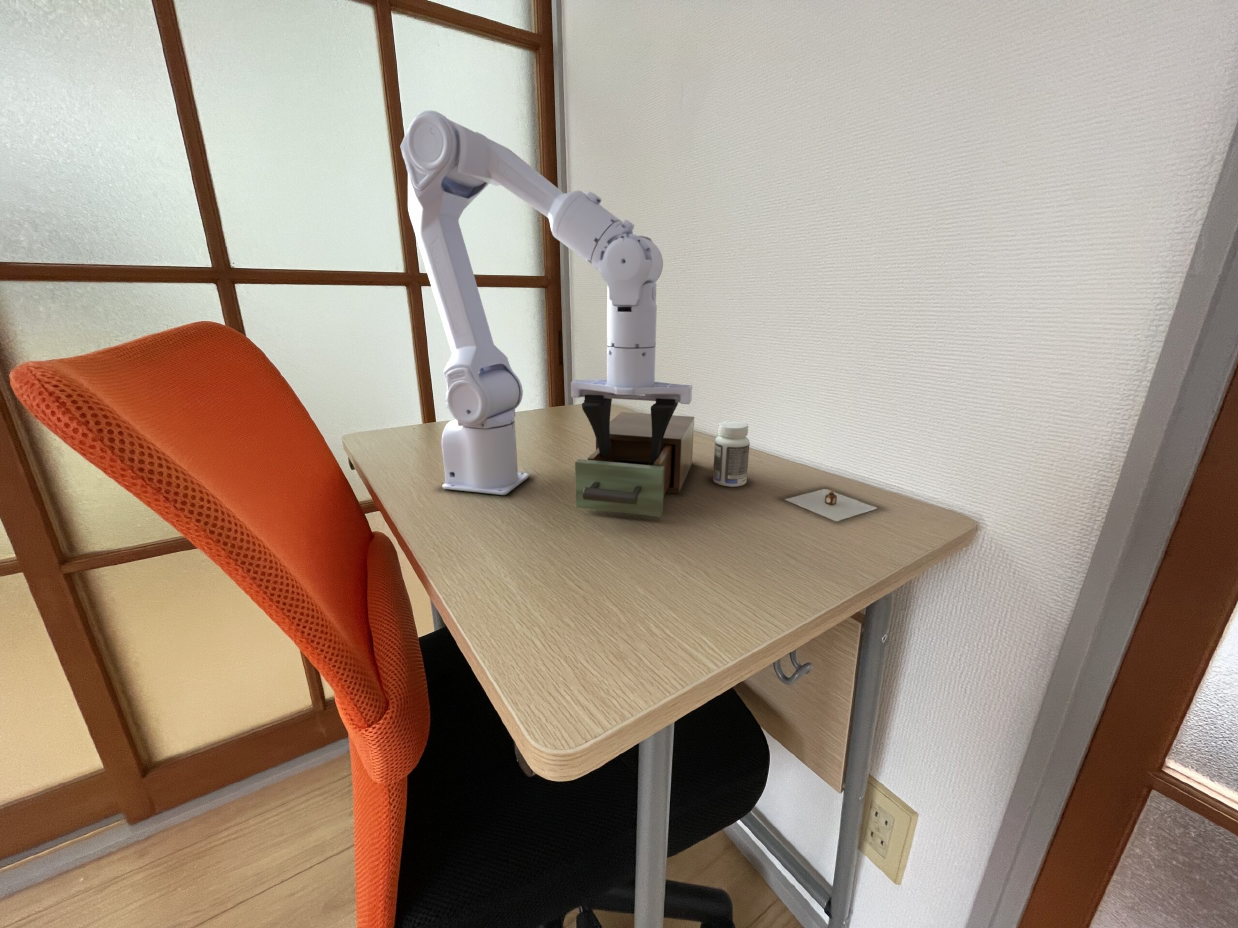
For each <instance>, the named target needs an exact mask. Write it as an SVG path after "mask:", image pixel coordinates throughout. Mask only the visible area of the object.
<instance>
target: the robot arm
mask: <svg viewBox="0 0 1238 928" xmlns="http://www.w3.org/2000/svg"><path fill="white" fill-rule="evenodd" d="M399 147H400V151H401V155H402V158H403V160H404V164H405V168H406V171H407V211H408V215H409V219H410V222H411V225H412V228H413V232H414V234H415V235H414V236H415V239H416V241H417V244H418V248H419V251H420V254H421V258H422V260H423V264H424V268H425V271H426V274H427V277H428V280H429V283H430V287H431V291H432V293H433V297H434V300H435V303H436V306H437V309H438V312H439V316H440V320H441V323H442V326H443V329H444V332H445V335H446V339H447V342H448V345H449V348H450V351H451V356H450V358H449V360H448V362H447V363H446V364H445V365H446V366H445V367H444V370H443V372H442V373H443V376H444V380H445V384H446V390H445V403H446V407H447V410H448V412H449V413H450V416H452V417H453V418H454V419H452V420H450V421H449V422H448V423H447V424H446V425H445V427H444V428H443V430H442V434H441V451H442V452H441V453H442V464H443V470H444V471H443V472H444V473H443V474H444V482H445V483H443V484H442V489H444V490H452V491H453V490H454V491H461V492H463V491H464V492H472V493H480V494H489V495H490V494H491V495H498V496H499V495H500V496H507V495H508V494H509V493H510V492H511V491H513V490H514V489H515V488H516V487H518V486H519V485H520V484H522V483H523V482H524V481H526V480H527V479H528V478H529V477H530V473H528V472H519V471H518V470H519V468H518V453H517V432H516V431H517V430H516V409H517V408H518V407H519V406H520V405H521V403H522V399H523V395H524V390H523V385H522V382H521V380H520V378H519V377H518V376H517V374H516V373H515V372H514V371H513V369H512V367H511V364H510V361H509V358H508V356H507V355H506V353H505V354H504V352H502V350H501V349H500V348H498V347H497V346H496V345H495V343H494V341H493V337H492V332H491V330H490V326H489V323H488V320H487V319H488V318H487V315H486V312H485V309H484V305H483V301H482V298H481V295H480V292H479V288H478V284H477V281H476V278H475V275H474V271H473V266H472V263H471V260H470V257H469V253H468V250H467V247H466V246H467V245H466V243H465V239H464V235H463V232H462V229H461V225H460V221H459V220H460V217H461V215H462V214H463V212H464V211H465V209H466V208H467V207H468V206H469V205H470V204H471V203H472V202H473V201H474V200H475V199H476V198H477V197H478V196H479V195H480V194H481V193H483V191H484V190H485V189H486V188H487V187H488V186H489V184H490V185H492V186H496V187H498V186H502V187H503V188H504V189H506V190H507V191H508V192H510V193H511V194H513V195H514V196H516V197H517V198H518V199H520V200H522V201H523V202H524V203H526V204H527V205H528V206H530V207H532V208H533V209H534V210H536V211H538V212H539V213H540V214H542V215H543V216H545V217H546V218H547V219H548V221H549V226H550V231H551V234H552V237H554V238H555V239H556V240H557V241H559V242H560V243H561V244H563V245H564V246H566V247H567V248H568V249H569V250H570V251H572V252H573V253H574V254H576V255H577V256H579V257H580V258H581V259H583V260H584V261H585V262H586V263H588V264H589V265H590V266H591V267H593V268H594V269H596V270H599V273H600V276H601V278H602V280H603V281H604V282H605V284H606V287H607V290H606V291H607V296H606V297H607V299H606V300H607V301H606V302H607V303H606V379H574V380H573V381H571V382H570V397H571V398H573V399H580V398H584V399H583V402H582V403H581V408H582V411H583V413H584V414H585V416H586V418H587V420H588V422H589V424H590V426H591V428H592V431H593V434H594V436H595V441H596V440H597V444H598V448H599V452H600V457H606V456H607V455H608V454H609V453H610V421H611V410H612V402H613V400H626V401H627V400H628V401H631V400H632V401H643V402H645V401H646V402H655V403H653V404H651V406H650V414H651V421H652V442H651V453H650V457H651V461H656V460H657V458H658V457H659V454H660V448H661V444H662V440H663V437H664V434H665V431H666V429H667V426H668V424H669V421H670V419H671V417H672V415H674V413H675V411H676V409H677V407H678V405H679V404H680V405H690V404H691V403H692V399H693V385H692V384H679V383H671V382H670V383H668V382H660V381H656V348H657V347H656V345H657V311H658V306H657V281H658V280H659V279H660V277H661V275H662V272H663V267H664V260H663V256H662V253H661V250H660V248H659V247H658V246H657V244H655V242H653V240H652V238H651V237H648V236H645V235H637V234H634V231H633V230H634V229H635V225H634V223H633V222H631V221H630V220H628V219H624V220H623V221H622V220H621V219H619V218H618V217H617V216H616V215H614V214H613V213H612V212H611V211H609V210H608V209H606V208H605V207H604V206H602V205H601V202H602V198H601V197H600V196H598V195H597V194H595V193H594V192H592V191H587V192H586V193H585V192H584V191H582V190H573V191H569V192H564V191H562V190H560V189H559V188H558V187H557V186H556V185H555V184H553V183H552V182H551V181H549V180H548V179H547V178H546V177H545V176H543V175H542V174H541V173H540V172H539V171H537V170H536V169H535V168H533V167H532V166H531V165H530V164H529V163H527V162H526V161H525V160H524V159H522V157H520V156H518V154H516V153H515V152H514V151H512V149H510V148H508V147H506V146H504V145H503V144H501V143H498V142H496V141H494V140H492V139H490V138H488V137H487V136H486V135H484V134H483V133H481V132H478V131H474V130H471V129H470V128H468V127H465V126H463V125H461V124H460V123H458V122H455V121H453V120H451V119H449V118H447V117H446V116H445V115H444V114H442V113H440V112H438V111H437V110H436V111H435V110H423V111H421V112H419V113H418V114H416V116H415V117H414V118H413V119H412V120H411V121H410V123H409V125H408V128H407V130H406V132H405V134H404V137H403V138H402V141H401V144H400V145H399Z"/></svg>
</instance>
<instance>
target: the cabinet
mask: <svg viewBox="0 0 1238 928" xmlns="http://www.w3.org/2000/svg"><path fill="white" fill-rule="evenodd" d="M694 431H695V416H690V415H689V416H688V415H674V414H673V415H672V417H671V419H670V421H669V424H668V426H667V429H666V431H665V434H664V437H663V440H662V444H674V452H673V478H672V481H671V483H670V485H669V487H668V489H667V491H666V493H667V494H675V495H676V494H678V495H679V494H680V492H681V490H682V488H683V485H684V483H685V481H686V479H687V476H688V473H689V471H690V469H691V467H692V465H693V449H694ZM610 440H623V441H636V442H649V443H651V442H652V421H651V413H643V412H628V411H627V412H626V411H620V412H619V413H618V414H617V415H616V416H615V417H614V418H612V419H610ZM597 449H598V444H597V440H596V439H595V451H596V450H597ZM666 493H665V494H666Z"/></svg>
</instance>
